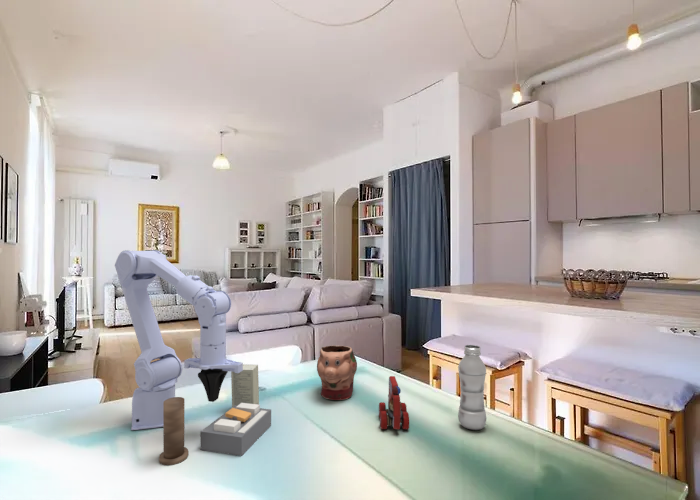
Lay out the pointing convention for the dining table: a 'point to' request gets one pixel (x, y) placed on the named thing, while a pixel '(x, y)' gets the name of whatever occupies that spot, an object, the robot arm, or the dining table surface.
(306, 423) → the dining table surface
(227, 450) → the switch box
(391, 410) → the toy fire truck
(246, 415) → the breaker paddle
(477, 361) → the plastic bottle
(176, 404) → the walnut post
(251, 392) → the skincare box
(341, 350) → the decorative planter
